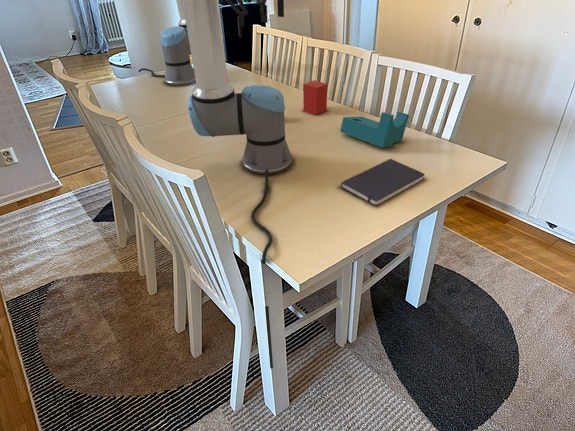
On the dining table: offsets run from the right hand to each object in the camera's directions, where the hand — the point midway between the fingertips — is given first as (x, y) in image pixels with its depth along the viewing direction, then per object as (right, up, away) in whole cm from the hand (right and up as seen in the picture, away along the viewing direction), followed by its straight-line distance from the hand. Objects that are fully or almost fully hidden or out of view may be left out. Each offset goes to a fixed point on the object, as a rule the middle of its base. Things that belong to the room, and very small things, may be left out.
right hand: (222, 38), depth 147 cm
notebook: (+51, -56, -33) cm, 82 cm away
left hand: (+18, +18, +24) cm, 35 cm away
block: (+35, -23, +13) cm, 44 cm away
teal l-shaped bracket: (+53, -38, -8) cm, 66 cm away
